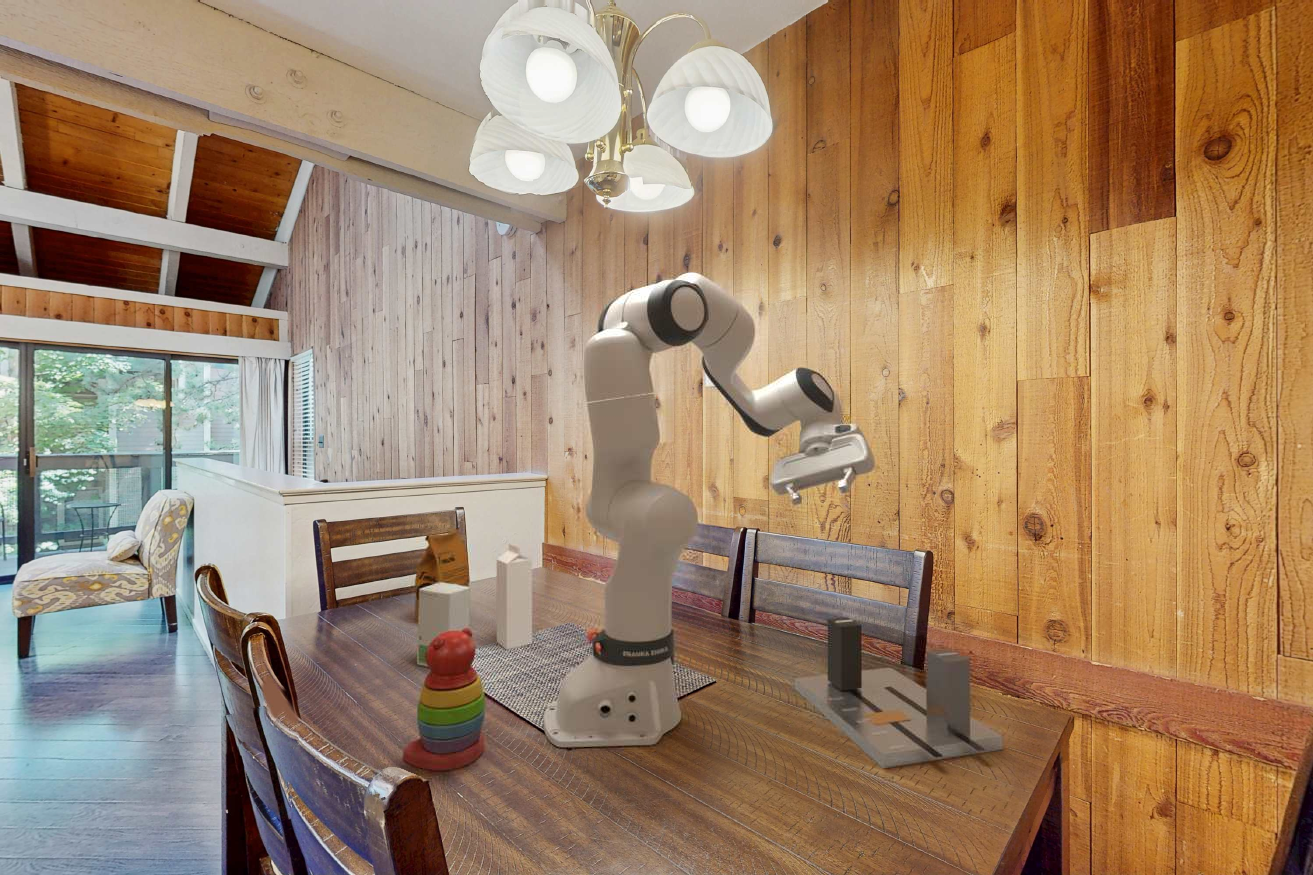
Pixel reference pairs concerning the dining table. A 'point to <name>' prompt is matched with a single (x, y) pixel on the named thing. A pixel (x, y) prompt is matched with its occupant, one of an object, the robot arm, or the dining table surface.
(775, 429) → the robot arm
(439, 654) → the stacking bear
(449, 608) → the skincare box
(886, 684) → the console
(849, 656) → the fader knob
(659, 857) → the dining table surface
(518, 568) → the milk
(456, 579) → the coffee package
